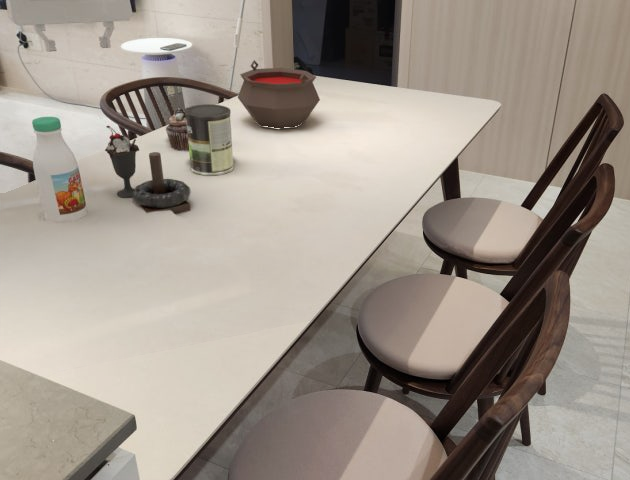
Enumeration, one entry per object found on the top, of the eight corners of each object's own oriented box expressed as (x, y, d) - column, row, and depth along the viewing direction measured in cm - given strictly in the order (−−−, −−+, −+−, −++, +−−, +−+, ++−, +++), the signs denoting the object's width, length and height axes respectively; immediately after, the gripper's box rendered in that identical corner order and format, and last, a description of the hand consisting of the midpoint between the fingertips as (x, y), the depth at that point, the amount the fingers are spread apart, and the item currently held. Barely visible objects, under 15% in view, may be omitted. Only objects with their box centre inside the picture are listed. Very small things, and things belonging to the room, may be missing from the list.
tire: (145, 214, 125) (143, 201, 124) (127, 195, 133) (125, 182, 131) (199, 203, 131) (197, 190, 130) (179, 185, 139) (177, 173, 137)
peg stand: (147, 219, 127) (139, 164, 121) (132, 203, 133) (124, 150, 127) (190, 210, 131) (184, 156, 126) (174, 195, 138) (168, 144, 132)
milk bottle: (45, 230, 120) (21, 126, 110) (45, 215, 126) (22, 115, 116) (89, 225, 123) (69, 123, 113) (87, 210, 129) (68, 112, 119)
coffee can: (189, 176, 148) (183, 116, 141) (191, 161, 157) (185, 104, 150) (234, 175, 150) (230, 115, 143) (233, 160, 159) (230, 103, 152)
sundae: (106, 193, 137) (94, 124, 130) (134, 185, 142) (123, 118, 134) (122, 202, 134) (111, 132, 126) (150, 193, 138) (141, 125, 131)
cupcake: (197, 138, 173) (193, 101, 168) (211, 148, 166) (207, 110, 161) (162, 143, 168) (157, 105, 163) (175, 153, 161) (170, 114, 156)
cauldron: (336, 124, 190) (337, 67, 182) (275, 139, 175) (273, 79, 166) (283, 107, 204) (281, 54, 196) (222, 121, 188) (217, 63, 180)
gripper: (119, -37, 116) (131, 42, 123) (-6, -38, 105) (14, 50, 112) (131, -34, 112) (141, 48, 119) (1, -34, 101) (21, 56, 108)
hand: (79, 49), depth 115 cm, fingers open, 8 cm apart
